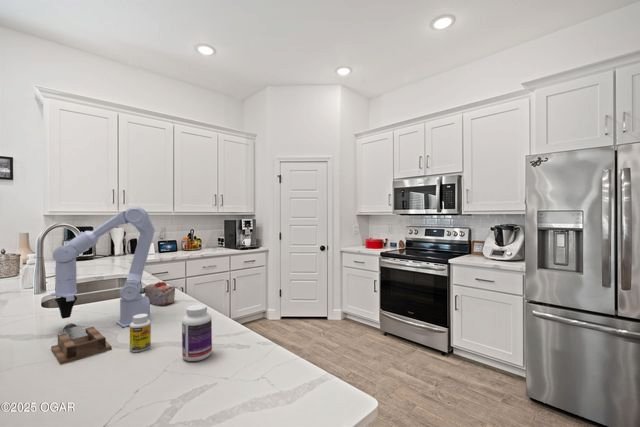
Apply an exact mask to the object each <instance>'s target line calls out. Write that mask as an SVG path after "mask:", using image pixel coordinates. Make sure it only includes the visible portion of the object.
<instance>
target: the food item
mask: <svg viewBox="0 0 640 427" xmlns="http://www.w3.org/2000/svg"><path fill="white" fill-rule="evenodd" d="M145 296H147V297H148V298H149V301H150V305H151V304H152V306H168V305H171V304H174V303H175V296H176V286H175V285H168V283H166V282H165V281H162V282H161V281H158V282H156V283H150V284H148V285H146V286H145V287H144V297H145Z"/></svg>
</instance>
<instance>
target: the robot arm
mask: <svg viewBox="0 0 640 427" xmlns="http://www.w3.org/2000/svg"><path fill="white" fill-rule="evenodd" d="M125 224H126V225H128V224H131V225H132V226H133V227H135V229H136V230H137V231H138V232H139V236H138V239H137V243H136V247H135V250H134V254H133V257H132V262H131V263H130V268H129V271H128V274H127V276H126V280H125V283H124V284H123V286H122V287H121V288H120V290H119V296H120V299H119V310H120V311H119V316H120V317H119V318H120V319H119V320H117V321H116V323H117V324H118V325H119V326H121V327H122V328H126V327H130V324H131V323H132V322H133V316H135V315H138V314H148V320H150V321H151V303H150V301H149V298H148V297H147V296H145V295H144V296H143V295H142V294H141V293H140V292H141V291H142V289H143V283H142V280H143V274H144V270H145V267H146V263H147V260H148V257H149V252H150V249H151V245H152V243H153V242H152V241H153V238H154V235H155V227H154V224H153V222H152V220H151V217H150V215H149V213H148V212H147V211H146V210H145V209H144V208H142V207H139V206H130V207H128V209H126V210H123V211H121V212H119V213H117V214H115V215H114V216H112V217H111V218H110V219H108V220H107V221H105V222H104V223H102V224H101V225H99V226H98V227H96V228H95V229H93V230H85V231H84V232H83V231H80V232H78V233H77V236H76V237H73V238H72V239H70V240H67V241H64V244H65V245H59V246H57V247H56V249H54V250H53V252H52V258H53V259H54V261H55V268H54V271H55V273H54V274H55V275H54V276H55V278H54V281H55V287H54V290H55V292H52V293H50V296H51V297H57V298H54V301H55V302H56V304H57V306H58V310H59V313H60V317H61V319H67V318H70V317H71V316H72V312H73V307H74V305H75V303H76V301H77V300H78V297H77V296H76V294H77V293H78V290H77V258H78V257H79V255H82V254H83V253H85V252H87V250H89V249H91V248H92V247H94V246H95V245H96V244H98V243H99V238H101V237H102V236H104V235H105V234H107V233H108V232H110V231H112V230H113V229H115V228H117V227H118V226H121V225H125Z"/></svg>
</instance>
